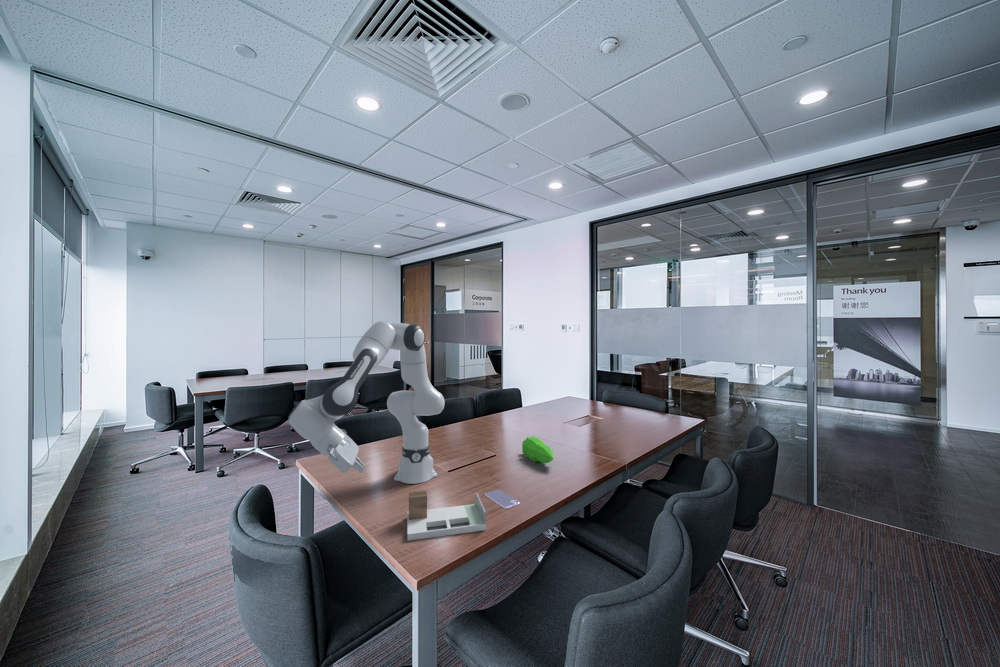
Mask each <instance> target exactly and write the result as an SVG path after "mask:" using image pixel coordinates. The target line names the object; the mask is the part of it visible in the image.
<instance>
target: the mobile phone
mask: <svg viewBox="0 0 1000 667" xmlns="http://www.w3.org/2000/svg"><path fill="white" fill-rule="evenodd" d="M484 496H485V497H487V498H488V499H490V500H491V501H493V502H495V503H496V504H497V505H498V506H500V507H501V508H503V509H509V508H512V506H513V507H515V505H516V506H518V504H519V505H520V504H521V502H520V501H519V500H517V499H515V498H514V497H512V496H511V495H510V494H508V493H506V492H504V491H503V490H501V489H494V490H491V491H487V492H485V493H484Z"/></svg>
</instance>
